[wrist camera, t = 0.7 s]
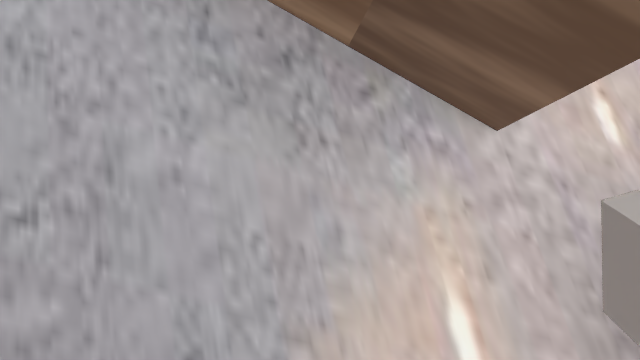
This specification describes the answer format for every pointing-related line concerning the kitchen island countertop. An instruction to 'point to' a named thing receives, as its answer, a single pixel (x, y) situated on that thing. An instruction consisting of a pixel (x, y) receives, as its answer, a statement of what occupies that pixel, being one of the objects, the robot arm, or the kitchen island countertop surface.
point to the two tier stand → (486, 46)
